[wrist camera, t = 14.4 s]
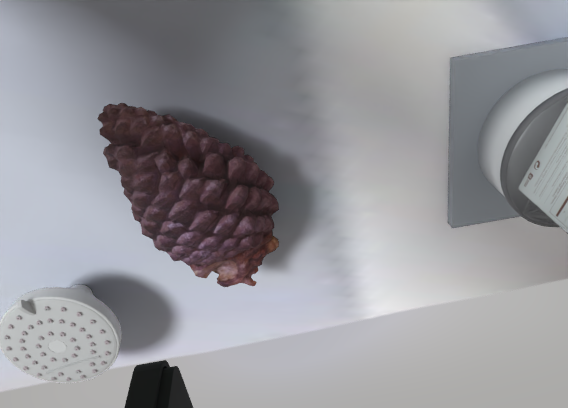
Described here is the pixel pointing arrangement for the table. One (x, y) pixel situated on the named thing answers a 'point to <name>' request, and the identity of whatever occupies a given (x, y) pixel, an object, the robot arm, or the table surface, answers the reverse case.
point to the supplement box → (551, 174)
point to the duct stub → (501, 128)
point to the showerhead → (60, 334)
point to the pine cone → (192, 193)
